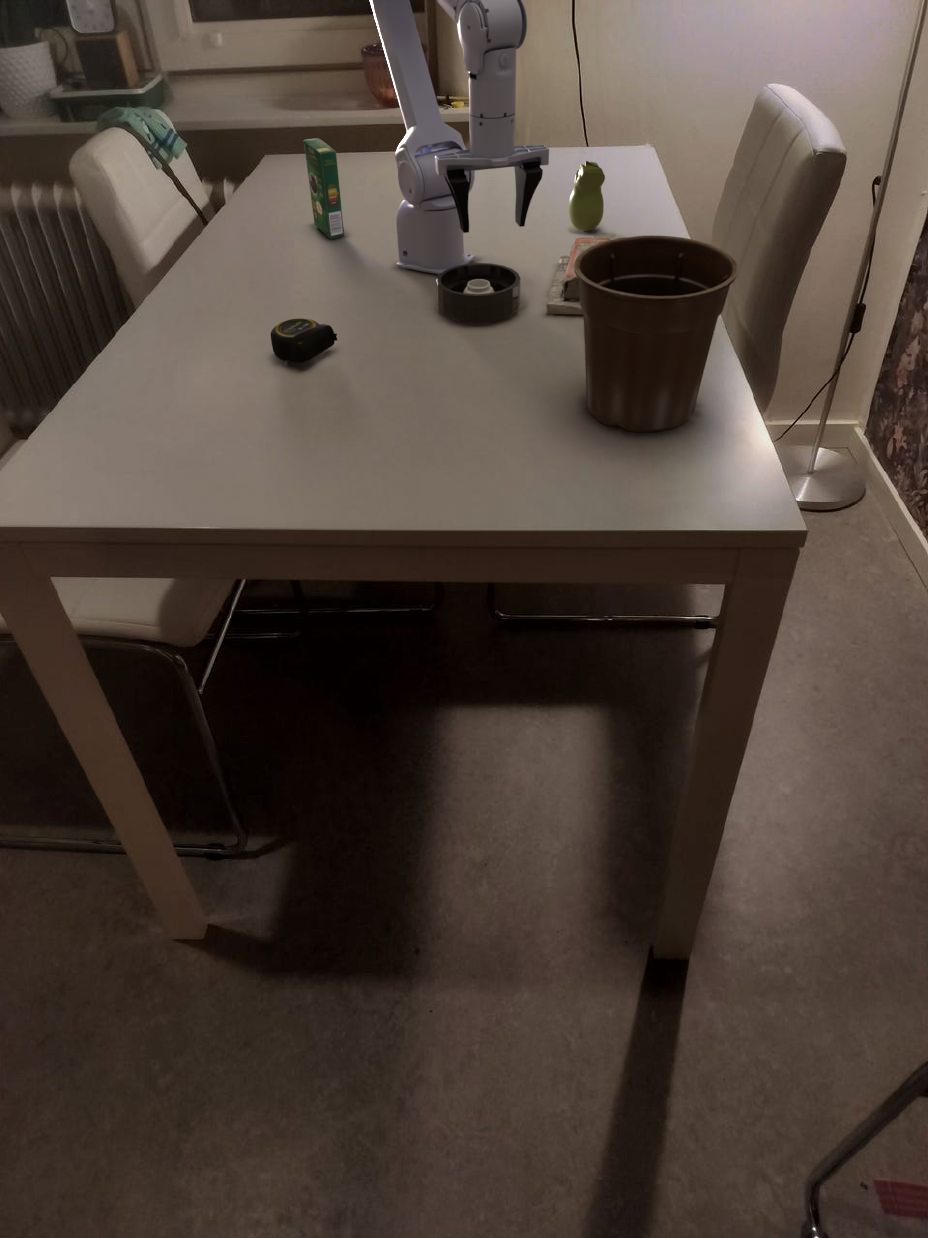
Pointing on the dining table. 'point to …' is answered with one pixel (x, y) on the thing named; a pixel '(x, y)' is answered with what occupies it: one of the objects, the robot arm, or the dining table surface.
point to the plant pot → (649, 326)
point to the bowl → (478, 305)
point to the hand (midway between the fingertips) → (492, 227)
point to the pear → (587, 197)
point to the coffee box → (324, 187)
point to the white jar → (478, 287)
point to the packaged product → (569, 280)
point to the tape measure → (301, 339)
